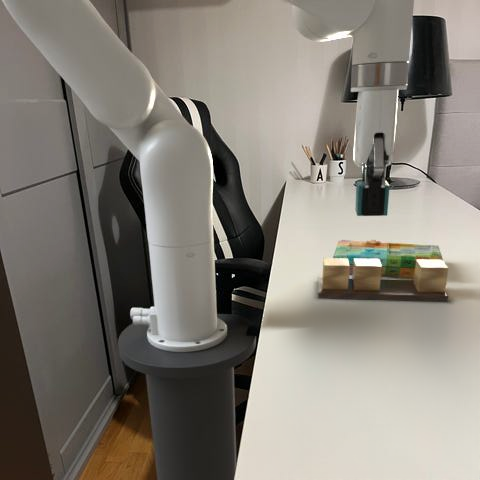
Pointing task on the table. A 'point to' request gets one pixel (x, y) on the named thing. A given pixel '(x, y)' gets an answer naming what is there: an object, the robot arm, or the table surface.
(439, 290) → the maple block
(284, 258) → the table surface
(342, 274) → the maple block
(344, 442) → the table surface
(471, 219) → the table surface
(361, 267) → the maple block
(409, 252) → the puzzle game
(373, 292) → the walnut board
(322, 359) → the table surface
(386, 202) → the teal block
